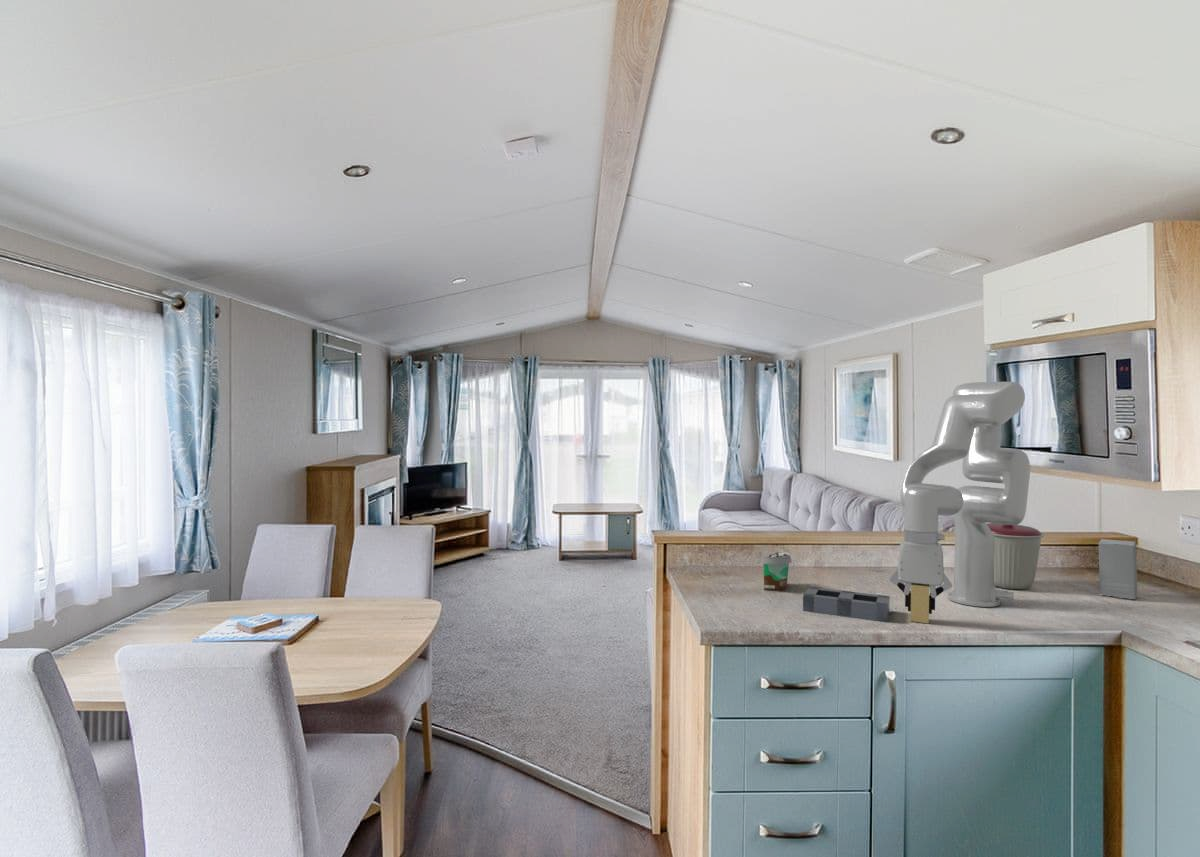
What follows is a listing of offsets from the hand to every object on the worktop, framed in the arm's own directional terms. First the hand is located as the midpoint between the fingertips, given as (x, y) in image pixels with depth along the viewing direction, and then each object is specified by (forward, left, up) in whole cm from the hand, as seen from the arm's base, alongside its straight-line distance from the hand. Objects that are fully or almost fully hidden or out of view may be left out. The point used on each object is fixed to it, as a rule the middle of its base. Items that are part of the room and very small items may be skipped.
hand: (919, 610), depth 163 cm
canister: (-23, -52, -3) cm, 57 cm away
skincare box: (-50, -53, -3) cm, 73 cm away
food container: (+37, -15, -3) cm, 40 cm away
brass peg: (0, 0, -2) cm, 2 cm away
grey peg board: (+17, 0, -2) cm, 17 cm away
